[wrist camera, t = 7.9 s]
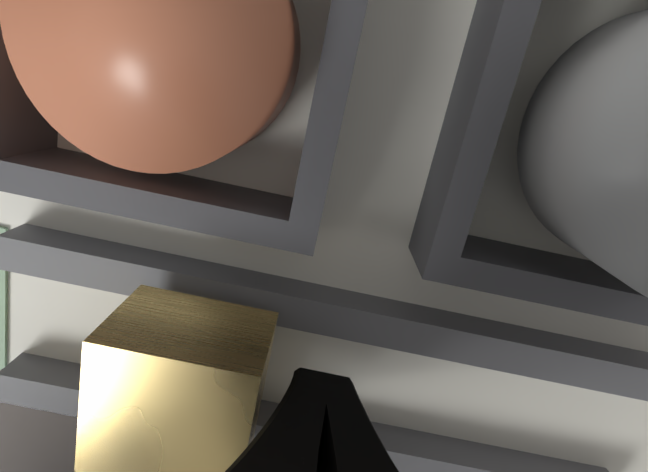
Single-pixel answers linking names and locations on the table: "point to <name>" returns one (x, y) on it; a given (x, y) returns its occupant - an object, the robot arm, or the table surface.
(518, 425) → the panel
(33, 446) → the table surface
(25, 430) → the table surface
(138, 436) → the brass slider
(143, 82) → the terracotta button
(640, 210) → the grey button
